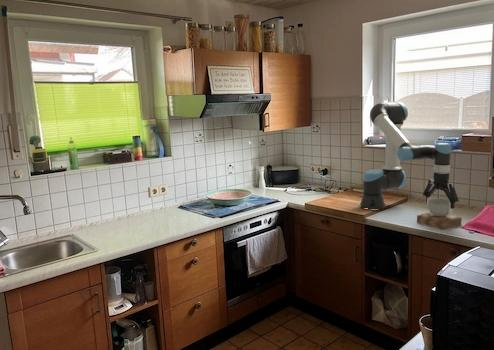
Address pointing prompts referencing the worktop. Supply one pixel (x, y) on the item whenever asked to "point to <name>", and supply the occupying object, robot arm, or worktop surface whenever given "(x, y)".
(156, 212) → the worktop surface
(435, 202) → the teacup
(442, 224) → the block
